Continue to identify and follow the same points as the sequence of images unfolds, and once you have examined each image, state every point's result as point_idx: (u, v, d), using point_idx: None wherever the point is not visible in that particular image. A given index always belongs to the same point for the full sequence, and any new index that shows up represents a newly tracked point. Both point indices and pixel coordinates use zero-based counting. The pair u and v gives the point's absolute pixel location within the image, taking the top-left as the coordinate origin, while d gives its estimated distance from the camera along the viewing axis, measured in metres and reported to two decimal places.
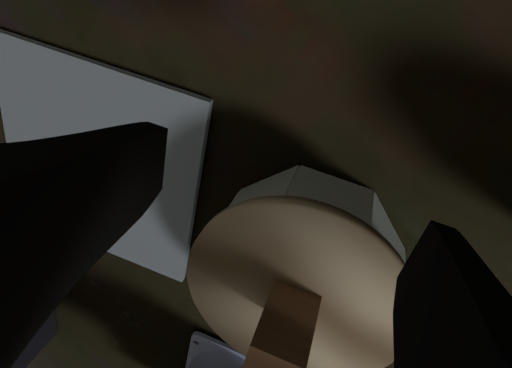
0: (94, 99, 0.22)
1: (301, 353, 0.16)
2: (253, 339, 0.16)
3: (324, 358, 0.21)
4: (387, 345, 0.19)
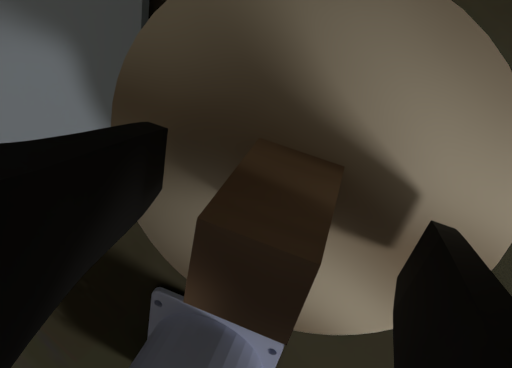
0: None
1: (310, 237, 0.07)
2: (206, 209, 0.07)
3: (345, 294, 0.12)
4: None
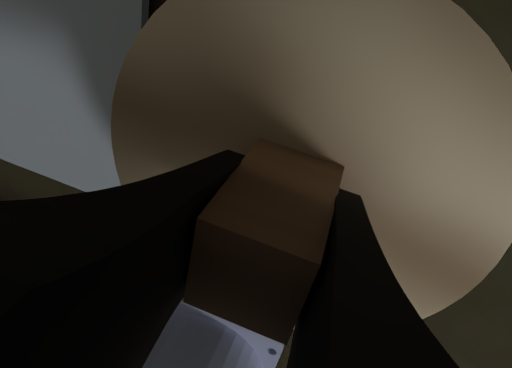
0: None
1: (310, 237, 0.07)
2: (206, 209, 0.07)
3: None
4: (462, 258, 0.10)
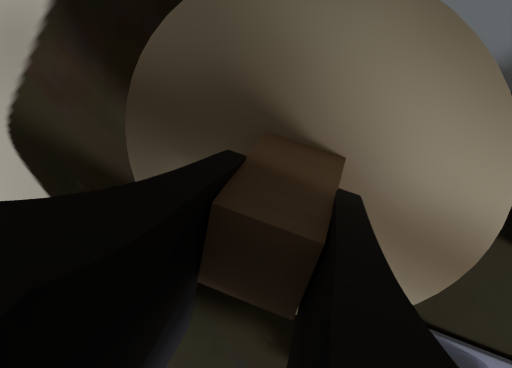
0: None
1: (315, 221, 0.08)
2: (220, 195, 0.08)
3: None
4: (456, 243, 0.11)
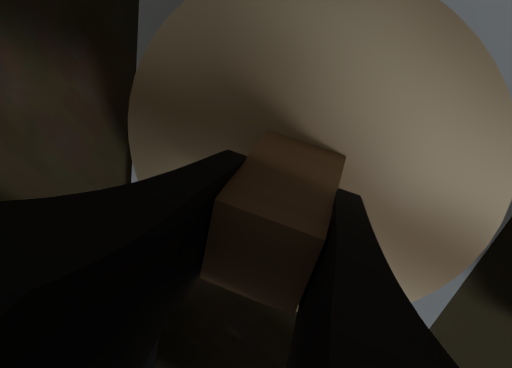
0: None
1: (316, 217, 0.08)
2: (222, 192, 0.08)
3: None
4: (455, 240, 0.11)
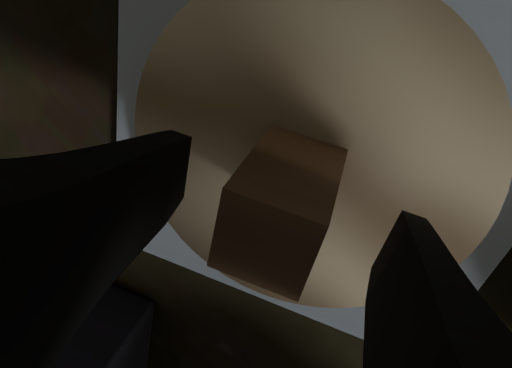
0: None
1: (319, 206, 0.09)
2: (230, 181, 0.09)
3: (348, 268, 0.13)
4: (454, 232, 0.11)
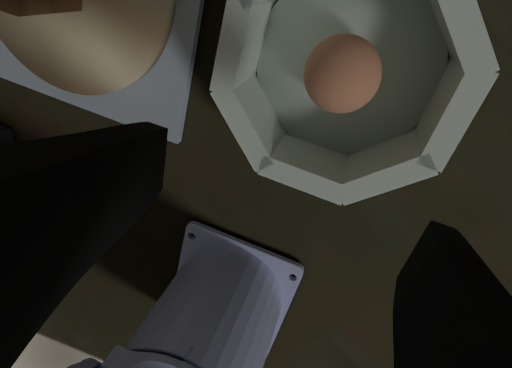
0: None
1: None
2: None
3: (106, 56, 0.20)
4: (151, 13, 0.18)
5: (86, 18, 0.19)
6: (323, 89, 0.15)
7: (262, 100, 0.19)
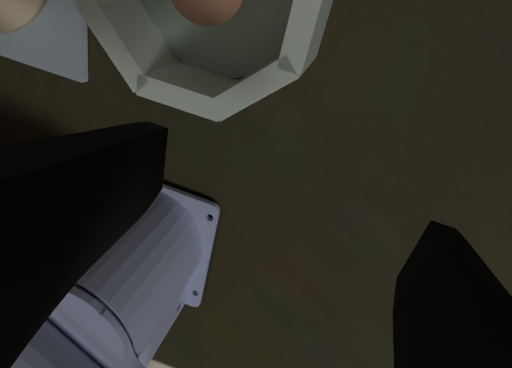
0: None
1: None
2: None
3: None
4: None
5: None
6: None
7: (146, 24, 0.18)
